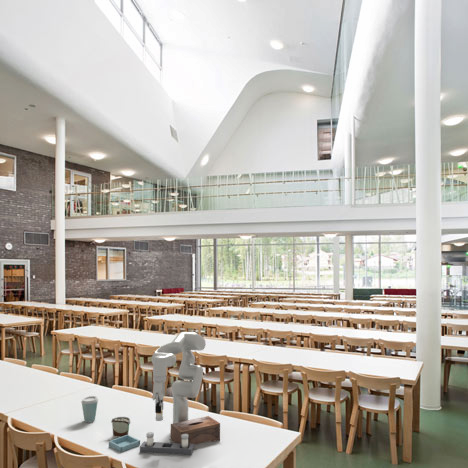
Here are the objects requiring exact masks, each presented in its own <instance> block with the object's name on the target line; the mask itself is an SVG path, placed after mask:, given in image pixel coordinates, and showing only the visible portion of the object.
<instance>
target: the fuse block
mask: <svg viewBox="0 0 468 468" xmlns="http://www.w3.org/2000/svg"><path fill="white" fill-rule="evenodd" d="M194 451H195V445H194V444H188V448H182V443H174V442H163V441H161V442H160V441H153V447H149V446H147V441H143V443H142V444H140V445H139V453H140V454H141V453H143V454H160V455H161V454H162V455H181V456H182V455H183V456H192V455H193V453H194Z"/></svg>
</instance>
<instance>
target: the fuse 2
mask: <svg viewBox="0 0 468 468" xmlns="http://www.w3.org/2000/svg"><path fill="white" fill-rule="evenodd" d="M188 438H189V435H188V434H182V435H181V439H182V448H188Z"/></svg>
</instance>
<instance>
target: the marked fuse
mask: <svg viewBox="0 0 468 468" xmlns="http://www.w3.org/2000/svg"><path fill="white" fill-rule="evenodd" d="M163 410H164V402H161V413H155V421H156V422H161V421H163V420H164V416H163V415H164V414H163V413H164V412H163Z"/></svg>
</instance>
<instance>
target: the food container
mask: <svg viewBox="0 0 468 468" xmlns="http://www.w3.org/2000/svg"><path fill="white" fill-rule="evenodd" d="M130 424H131V418H129V417H126V416H118V417H114V418H112V419H111V425H112V437H116V436H117V438H119V437H122V436H125V435H129V430H130Z"/></svg>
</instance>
